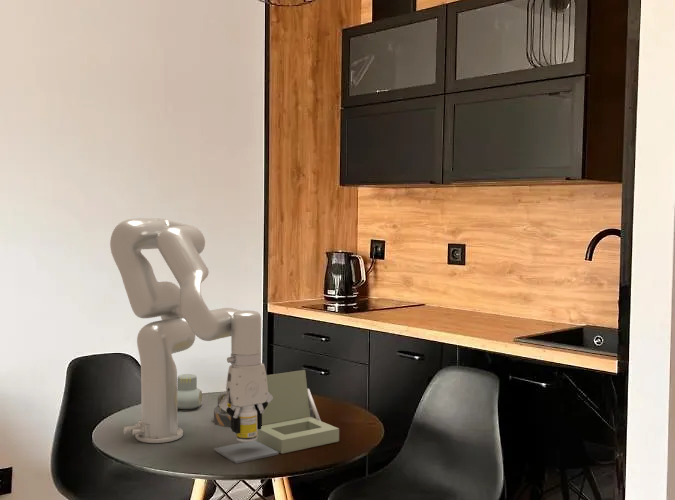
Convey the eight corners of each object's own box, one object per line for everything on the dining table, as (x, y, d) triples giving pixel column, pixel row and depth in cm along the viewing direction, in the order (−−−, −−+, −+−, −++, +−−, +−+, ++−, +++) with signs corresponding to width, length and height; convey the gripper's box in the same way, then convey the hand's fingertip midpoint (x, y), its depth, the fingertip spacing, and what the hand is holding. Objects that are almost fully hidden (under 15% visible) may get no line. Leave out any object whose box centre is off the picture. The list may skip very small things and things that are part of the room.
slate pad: (236, 463, 180) (236, 461, 180) (214, 450, 190) (214, 448, 190) (278, 454, 187) (278, 452, 187) (255, 442, 197) (255, 440, 197)
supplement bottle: (239, 435, 191) (239, 398, 191) (259, 436, 191) (259, 399, 190) (233, 441, 186) (233, 403, 186) (254, 442, 185) (254, 404, 185)
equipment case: (281, 453, 188) (282, 390, 187) (247, 436, 202) (247, 377, 201) (342, 440, 199) (342, 380, 198) (305, 424, 213) (306, 368, 213)
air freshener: (197, 412, 226) (197, 379, 226) (170, 412, 226) (170, 379, 226) (202, 402, 237) (202, 372, 237) (176, 403, 237) (176, 372, 237)
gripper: (222, 366, 179) (223, 439, 180) (282, 358, 189) (283, 428, 190) (208, 361, 185) (209, 432, 186) (267, 353, 195) (268, 421, 196)
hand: (246, 429), depth 188 cm, fingers closed on supplement bottle, 5 cm apart
